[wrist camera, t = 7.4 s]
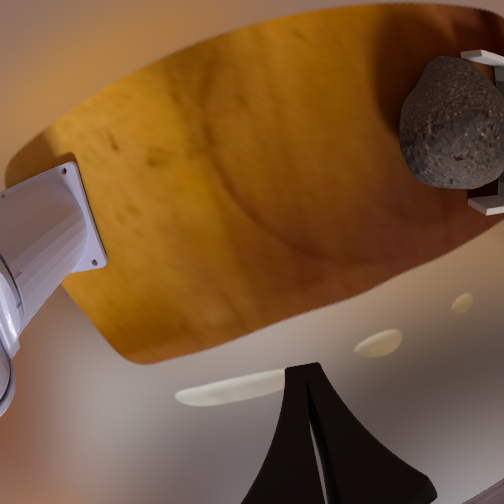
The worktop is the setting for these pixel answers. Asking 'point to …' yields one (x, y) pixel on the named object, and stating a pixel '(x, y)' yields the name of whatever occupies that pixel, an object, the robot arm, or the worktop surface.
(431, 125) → the stone
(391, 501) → the robot arm
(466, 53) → the digital alarm clock
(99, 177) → the worktop surface
